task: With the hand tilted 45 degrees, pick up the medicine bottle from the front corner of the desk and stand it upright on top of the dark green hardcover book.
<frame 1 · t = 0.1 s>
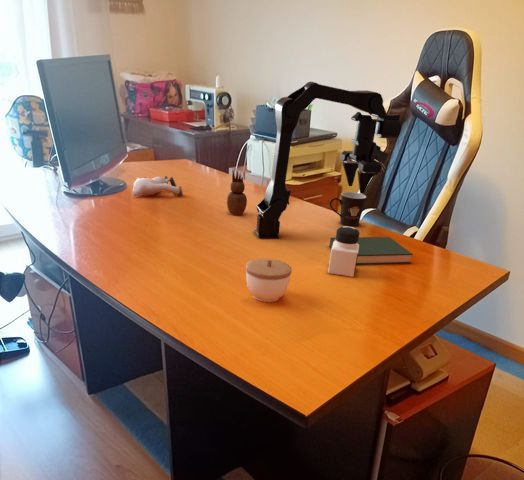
hand: (355, 189, 165), 15 cm above the table, tool pointing down, fingers open, 9 cm apart
wooden figurine: (236, 214, 183), on the table
coffee mug: (344, 223, 183), on the table
yeti figurine: (152, 193, 198), on the table
book: (368, 255, 156), on the table
trinket box: (266, 297, 125), on the table
medicine bottle: (341, 271, 144), on the table
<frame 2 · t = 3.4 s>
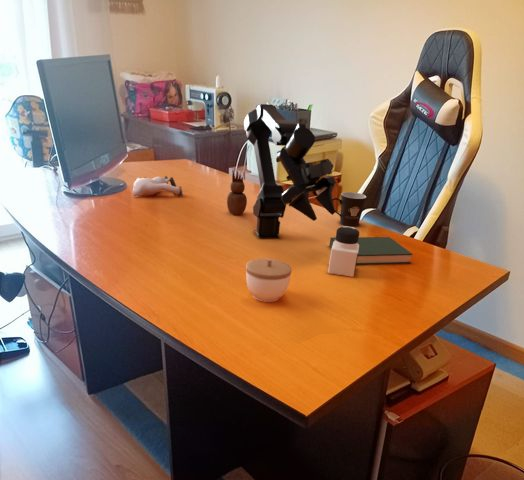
hand: (324, 216, 141), 13 cm above the table, tool tilted 45°, fingers open, 9 cm apart
nothing on the table moved.
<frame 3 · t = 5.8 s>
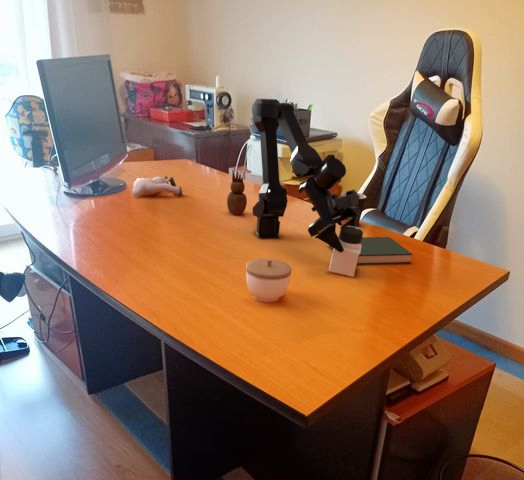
hand: (351, 247, 139), 7 cm above the table, tool tilted 45°
medicine bottle: (341, 270, 143), on the table, touching gripper
everything else where it was.
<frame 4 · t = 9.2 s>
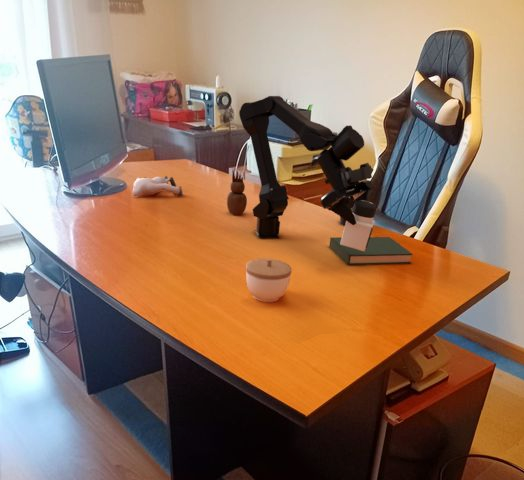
hand: (362, 221, 140), 13 cm above the table, tool tilted 45°, fingers closed on medicine bottle, 8 cm apart
medicine bottle: (353, 245, 144), point 6 cm above the table, touching gripper
everything else where it was.
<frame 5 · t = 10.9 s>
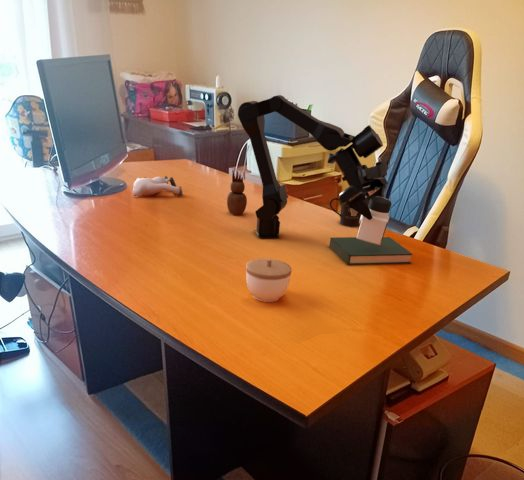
hand: (378, 216, 147), 13 cm above the table, tool tilted 45°, fingers closed on medicine bottle, 8 cm apart
medicine bottle: (369, 239, 151), point 6 cm above the table, touching gripper
everything else where it was.
when the fingers open (11 cm above the table, at t = 12.3 s): medicine bottle stays where it is, resting on book.
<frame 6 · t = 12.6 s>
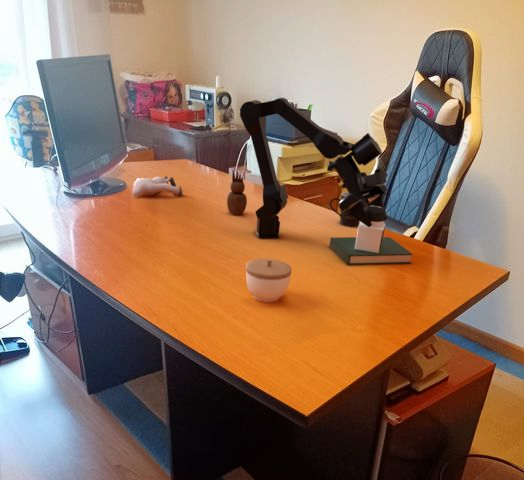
hand: (378, 223, 148), 11 cm above the table, tool tilted 45°, fingers open, 9 cm apart
medicine bottle: (367, 248, 153), point 3 cm above the table, touching book
everything else where it was.
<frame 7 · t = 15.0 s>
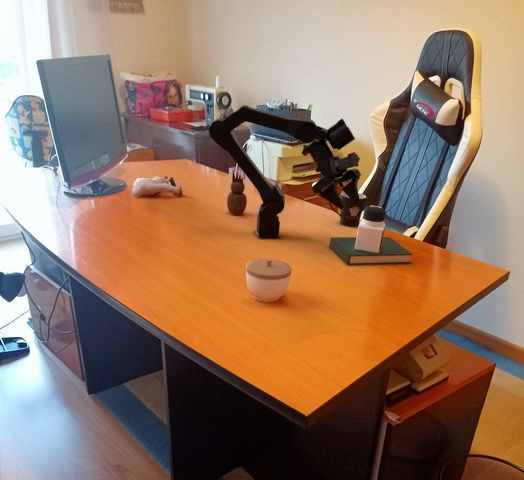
hand: (351, 206, 151), 13 cm above the table, tool tilted 45°, fingers open, 9 cm apart
nothing on the table moved.
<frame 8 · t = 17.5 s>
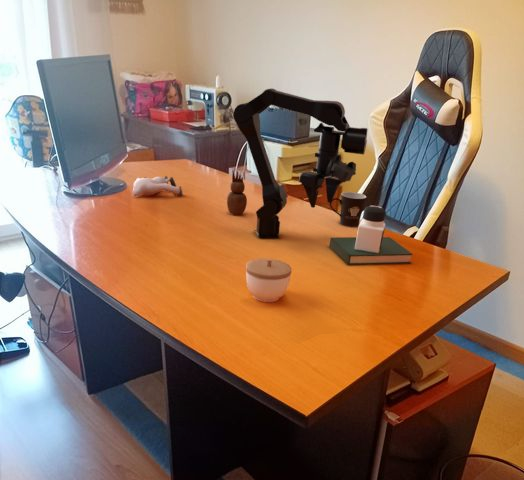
hand: (321, 204, 156), 12 cm above the table, tool pointing down, fingers open, 9 cm apart
nothing on the table moved.
at the end: medicine bottle inside the target area on the book (2.9 cm from its centre), point 2.8 cm above the book's base; medicine bottle tilted 0°; the gripper is holding nothing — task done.
